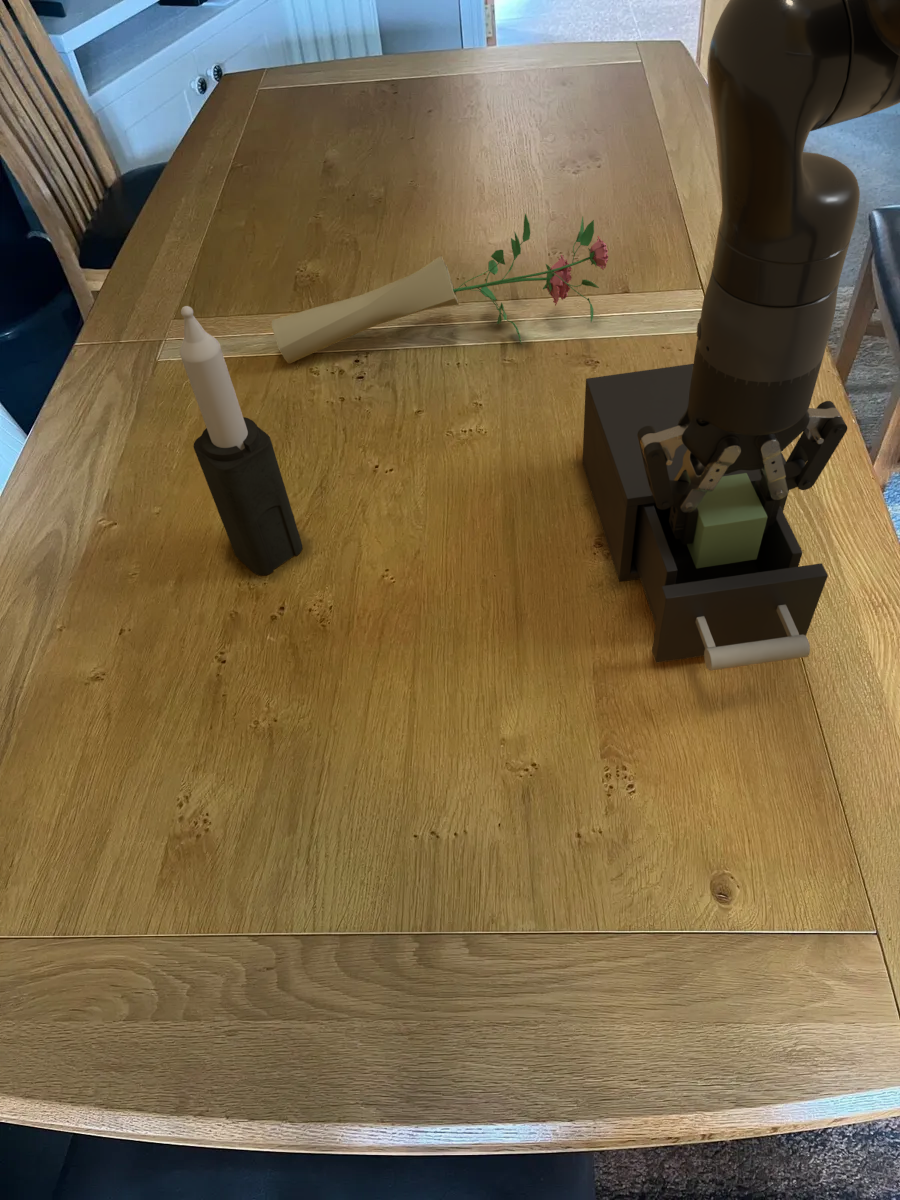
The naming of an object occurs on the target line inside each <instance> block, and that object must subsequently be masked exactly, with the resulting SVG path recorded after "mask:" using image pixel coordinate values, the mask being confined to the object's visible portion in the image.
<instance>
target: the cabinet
mask: <svg viewBox="0 0 900 1200" xmlns="http://www.w3.org/2000/svg"><path fill="white" fill-rule="evenodd" d="M693 364H694V363H687V364H681V365H674V366H667V367H659V368H653V369H646V370H645V369H644V370H638V371H631V372H630V371H629V372H623V373H617V374H610V375H601V376H594V377H587V378H585V392H584V393H585V394H584V412H583V413H584V415H583V436H582V437H583V438H582V463H581V464H582V466H583V470H584V474H585V476H586V479H587V483H588V486H589V490H590V492H591V496H592V500H593V502H594V505H595V509H596V511H597V515H598V519H599V522H600V524H601V527H602V531H603V535H604V537H605V540H606V544H607V548H608V550H609V554H610V557H611V561H612V563H613V566H614V570H615V573H616V575H617V576H616V577H617V580H618V582H627V581H633V580H640V577H639V574H638V571H637V568H636V565H635V562H634V559H633V556H632V552H633V543H634V534H635V525H636V516H637V507H638V505H643V504H650V503H655V500H654V498H653V495H652V492H651V490H650V487H649V484H648V480H647V476H646V471H645V467H644V462H643V458H642V453H641V449H640V444H639V440H638V435H637V434H638V431H639V430H640V429H641V428H643V427H645V426H652V427H653V428H654V429H655V431H656V433H657V432H660V431H663V430H666V429H669V428H672V427H676V426H678V423H679V420H680V419H681V417H682V416H683V415H684V413H685V412H686V410H687V408H688V403H689V391H690V384H691V377H692V371H693ZM687 449H688V448H687V447H686V446H685V445H684V444H683V445H680V446H679V447H678V448H677V449H676V451H675V456H674V458H673V459H672V461H673V463H672V464H671V465H667V470H668V475H669V480H674V479H675V477H676V476H677V474H678V472H679V471H680V469H681V467H682V465H683V457H684V454H685V453H686V451H687ZM781 457H782V461H783V465H784V464H786V461H787V459H786V458H785V456H784V455H783V451H782V452H781ZM743 473H747V475H748V477H749V479H750V481H751V483H752V486H753V488H754V485H755V481H756V480H761V475H760V472H759V469H758V470H751V471H750V470H738V471H735V472H732V473H729V474H724V475H723V476H730V475H736V474H743ZM723 476H722V477H723ZM789 493H790V490H789V491H788V494H787V495H786V496H785V497H784V498H782V500H781V504H780V507H781V509H782V511H783V512H784V510H785V507H786V503H787V499H788V496H789Z"/></svg>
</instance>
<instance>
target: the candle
mask: <svg viewBox="0 0 900 1200" xmlns="http://www.w3.org/2000/svg"><path fill="white" fill-rule="evenodd" d="M180 314H181V316H182V317H183V339H182V342H181V345H180V348H179V356H180V359H181V362H182V364H183V368H184V370H185V373H186V375H187V378H188V380H189V383H190V386H191V389H192V392H193V395H194V397H195V400H196V403H197V405H198V408H199V411H200V414H201V416H202V419H203V422H204V425H205V427H206V428H205V429H204V430H203V431H202V433H201V435H200V436H199V437H197V438H196V439H195V440H194V442H193V445H192V446H193V450H194V452H195V455H196V458H197V460H198V463H199V465H200V468H201V472H202V474H203V476H204V478H205V481H206V484H207V487H208V489H209V491H210V495H211V497H212V499H213V502H214V504H215V507H216V510H217V512H218V515H219V518H220V520H221V523H222V525H223V527H224V530H225V533H226V535H227V538H228V541H229V543H230V546H231V548H232V552H233V553H234V556H235V557H236V558H237V559H238V560H239V561H240V562H241V563H243V564H244V565H245V566H246V567H247V568H248V569H249V570H250V571H251V572H252V573H253V574H254V575H257V576H260V577H261V576H263V577H264V576H268V575H270V574H273V573H274V570H275V569H278V568H279V567H280V566H282V565H283V564H284V563H286V562H287V561H289V560H290V559H292V558H293V557H297V556H299V555H301V553H302V551H303V543H302V539H301V536H300V533H299V529H298V526H297V522H296V520H295V515H294V512H293V509H292V506H291V503H290V498H289V496H288V493H287V489H286V485H285V483H284V479H283V476H282V472H281V469H280V465H279V463H278V459H277V455H276V453H275V450H274V445H273V442H272V439H271V436H270V435H269V434H268V433H267V432H265V430H263V429H262V428H260V427H259V426H258V425H257V423H256V422H255V421H254V420H252V419H250V418H249V417H245V416H244V415H243V412H242V409H241V405H240V402H239V400H238V397H237V394H236V390H235V387H234V384H233V380H232V377H231V375H230V372H229V369H228V366H227V363H226V359H225V356H224V353H223V350H222V346H221V344H220V341H218V339H217V338H215V337H214V335H211V334H210V333H208V332H207V331H206V330H205V329H204V327H203V326H202V325H201V323H200V322H199V321H198V319H197V318H196V317H195V315H194V309H193V308H192V307H191V306H189V305H184V306H183V307H182V308H181V310H180Z"/></svg>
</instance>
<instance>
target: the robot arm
mask: <svg viewBox="0 0 900 1200" xmlns="http://www.w3.org/2000/svg"><path fill="white" fill-rule="evenodd" d="M706 77H707V88H708V89H707V90H708V96H709V102H710V108H711V109H710V110H711V115H712V123H713V129H714V135H715V143H716V144H715V145H716V152H717V153H716V155H717V167H718V174H719V184H720V192H721V195H720V196H721V212H720V218H719V224H718V230H717V235H716V240H715V241H716V243H715V250H714V255H713V262H712V268H711V273H710V277H709V280H708V283H707V286H706V290H705V293H704V297H703V300H702V306H701V310H700V311H701V312H700V318H699V319H698V323H697V326H696V337H697V339H696V343H695V345H696V346H695V352H694V358H693V363H692V364H693V371H692V377H691V384H690V391H689V403H688V408H687V410H686V412H685V413H684V415H683V416H682V417H681V419H680V420H679V423H678V426H676V427H672V428H669V429H666V430H663V431H660V432H657V433H656V431H655V429H654V428H653V427H652V426H645V427H643V428H641V429H640V430H639V431H638V434H637V435H638V440H639V444H640V449H641V453H642V458H643V462H644V467H645V471H646V476H647V480H648V484H649V487H650V490H651V492H652V495H653V498H654V500H655V503H656V506H657V508H658V509H660V510H665V509H668V508H670V507H671V510H670V517H669V523H670V526H671V528H672V531H673V534H674V536H675V538H676V539H679V538H680V540H681V543H682V544H683V545H684V544H691V543H693V539H694V533H695V528H696V522H697V517H698V509H697V507H698V505H699V503H700V502H701V500H702V499H703V497H704V496H705V494H706V493H707V491H708V492H712V491H713V490H714V489H715V487H716V485H717V484H718V482H719V481H720V479H721V478H722V476H723V475H724V474H729V473H732V472H735V471H738V470H750V471H751V470H758V469H759V472H760V475H761V480H756V481H755V485H754V490H755V492H756V494H757V496H758V498H759V500H760V502H761V504H762V506H763V508H764V511H765V513H766V515H767V521H766V525H765V529H764V532H763V533H766V532H767V529H768V526H771V525H773V523H774V522H775V521H776V518H777V514H778V510H779V507H780V504H781V500H782V498H784V497H785V496H786V495H787V494H788V495H789V493H788V491H789V492H790V491H791V490H793V489H796V488H798V490H800V491H807V490H809V489H811V488H812V487H813V486H814V485H815V484H816V482H817V480H818V479H819V477H820V475H821V474H822V472H823V470H824V469H825V467H826V466H827V465H828V462H829V461H830V459H831V458H832V456H833V454H834V452H835V451H836V449H837V448H838V446H839V445H840V443H841V441H842V440H843V438H844V437H845V435H846V433H847V432H848V425H847V423H846V422H845V419H844V418H843V416H842V415H841V412H840V411H839V409H838V408H837V407H836V405H835V404H834V402H833V401H831V400H825V401H822V402H821V403H819V404H818V405H817V407H815V408H813V407H810V406H811V402H812V399H813V395H814V391H815V388H816V384H817V381H818V377H819V373H820V369H821V366H822V363H823V359H824V357H825V356H824V355H825V352H826V349H827V345H828V342H829V337H830V334H831V330H832V327H833V323H834V319H835V315H836V308H837V307H836V306H837V300H838V299H837V298H838V289H839V286H840V279H841V275H842V272H843V268H844V265H845V261H846V257H847V255H848V250H849V247H850V244H851V240H852V236H853V232H854V229H855V226H856V221H857V219H858V218H857V217H858V211H859V205H860V198H861V196H860V195H861V193H860V186H859V182H858V179H857V177H856V175H855V174H854V172H853V171H852V169H850V167H848V166H847V165H846V164H845V163H842V162H841V161H839V160H838V159H836V158H833V157H830V156H827V155H825V154H821V153H816V152H810V151H809V152H808V151H804V149H805V145H806V142H807V140H808V137H809V135H810V133H811V132H814V131H817V130H821V129H824V128H827V127H831V126H833V125H838V124H841V123H844V122H847V121H852V120H854V119H858V118H861V117H865V116H868V115H872V114H875V113H878V112H880V111H883V110H886V109H888V108H891V107H893V106H896V105H898V104H900V0H729V1H728V2H727V4H726V6H725V7H724V9H723V11H722V12H721V14H720V16H719V18H718V20H717V24H716V25H715V28H714V30H713V33H712V37H711V40H710V44H709V48H708V55H707V67H706ZM799 436H800V437H799ZM798 437H799V438H798ZM797 438H798V440H797V442H796V444H795V445H794V447H793V448H792V451H791V452H790V454H789V456H788V457H787V459H786V464H784V465H783V461H782V457H781V452H782V453H783V451H784V450H786V448H787V447H788V446H789V445H790V444H792V443H793V442H794V441H795V440H796V439H797ZM683 444H684V445H685V446H686V447H687V448H688V449H687V451H686V453H685V454H684V457H683V465H682V467H681V469H680V471H679V472H678V474H677V476H676V477H675V479H674V480H669V475H668V470H667V465H671V464H672V463H673V461H672V459H673V458H674V456H675V451H676V449H677V448H678V447H679V446H680V445H683Z"/></svg>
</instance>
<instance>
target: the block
mask: <svg viewBox="0 0 900 1200" xmlns="http://www.w3.org/2000/svg"><path fill="white" fill-rule="evenodd" d="M697 509H698V517H697V522H696V528H695V533H694V539H693V543H691V544H687V547H688V549H689V552H690V554H691V557H692V559H693V562H694V564H695V567H696V568H703V567H710V566H716V565H723V564H729V563H736V562H742V561H749V560H756V559H757V555H758V552H759V548H760V544H761V540H762V536H763V532H764V529H765V525H766V521H767V515H766V513H765V511H764V508H763V506H762V504H761V502H760V500H759V498H758V496H757V494H756V492H755V490H754V488H753V486H752V483H751V481H750V479H749V477H748V475H747V473H743V474H736V475H730V476H723V477H722V478H721V479H720V481H719V482H718V484H717V485H716V487H715V489H714V490H713V491H712V492H708V491H707V493H706V494H705V496H704V497H703V499H702V500H701V502H700V503H699V505H698V507H697Z"/></svg>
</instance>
